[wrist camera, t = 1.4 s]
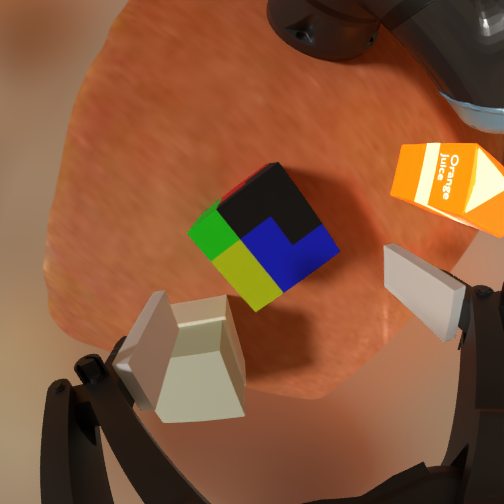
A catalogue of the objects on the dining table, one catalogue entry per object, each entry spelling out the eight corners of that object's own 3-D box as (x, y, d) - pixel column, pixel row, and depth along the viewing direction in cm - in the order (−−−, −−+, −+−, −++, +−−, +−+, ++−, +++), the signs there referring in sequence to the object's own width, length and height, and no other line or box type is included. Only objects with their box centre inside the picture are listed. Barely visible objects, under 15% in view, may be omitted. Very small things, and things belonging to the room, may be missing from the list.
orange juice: (432, 213, 34) (533, 254, 15) (389, 195, 33) (501, 231, 14) (443, 166, 32) (547, 182, 13) (401, 143, 31) (516, 142, 12)
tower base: (226, 293, 37) (225, 316, 31) (244, 359, 40) (246, 386, 35) (146, 307, 37) (134, 329, 31) (173, 369, 41) (166, 394, 35)
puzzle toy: (313, 227, 34) (340, 251, 25) (250, 273, 36) (255, 312, 26) (266, 163, 32) (278, 162, 22) (201, 214, 33) (186, 233, 24)
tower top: (222, 319, 31) (219, 350, 25) (243, 383, 34) (245, 415, 29) (139, 333, 31) (124, 362, 26) (170, 392, 35) (163, 422, 29)
